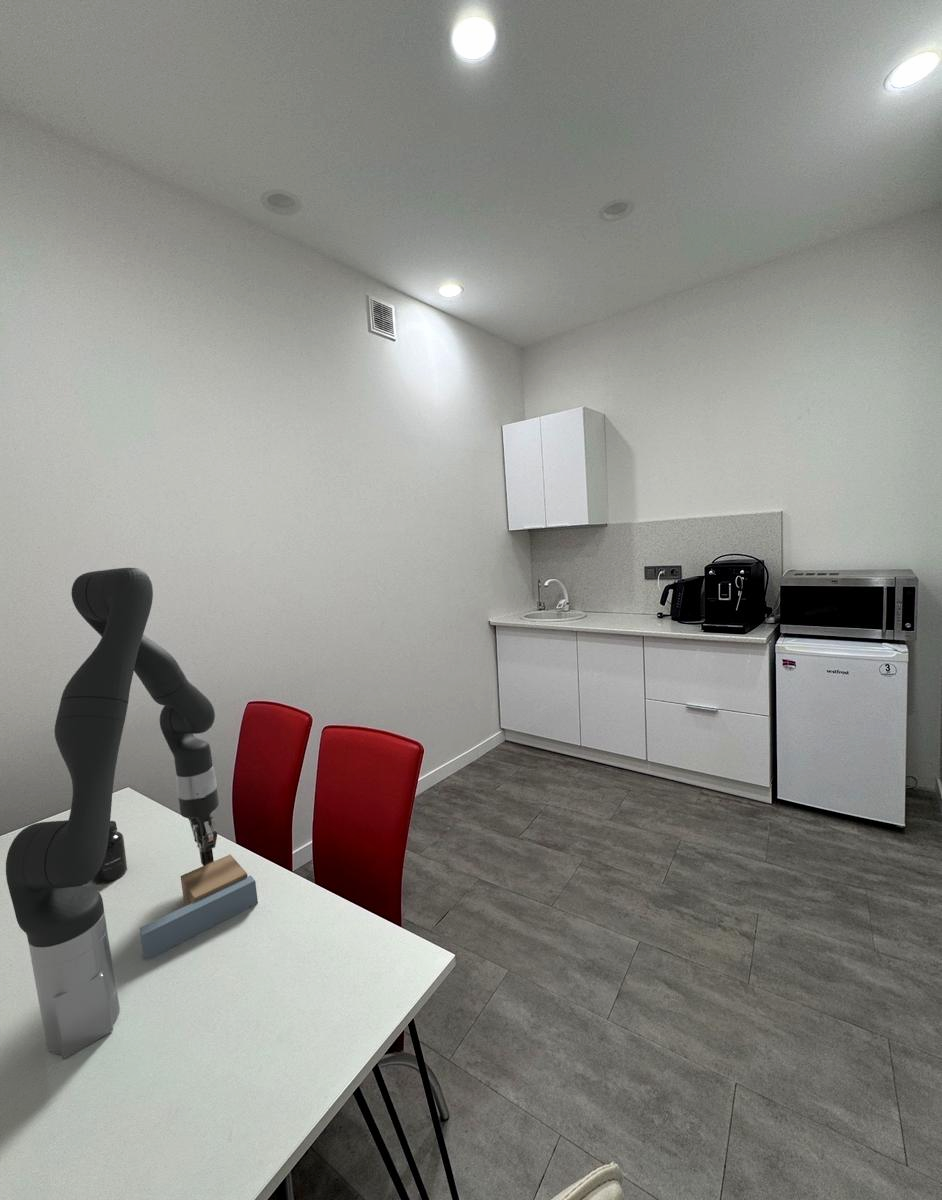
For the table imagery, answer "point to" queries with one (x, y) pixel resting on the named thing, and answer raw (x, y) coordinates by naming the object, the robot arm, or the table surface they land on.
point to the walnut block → (211, 878)
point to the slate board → (197, 917)
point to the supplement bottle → (112, 858)
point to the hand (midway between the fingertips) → (207, 863)
